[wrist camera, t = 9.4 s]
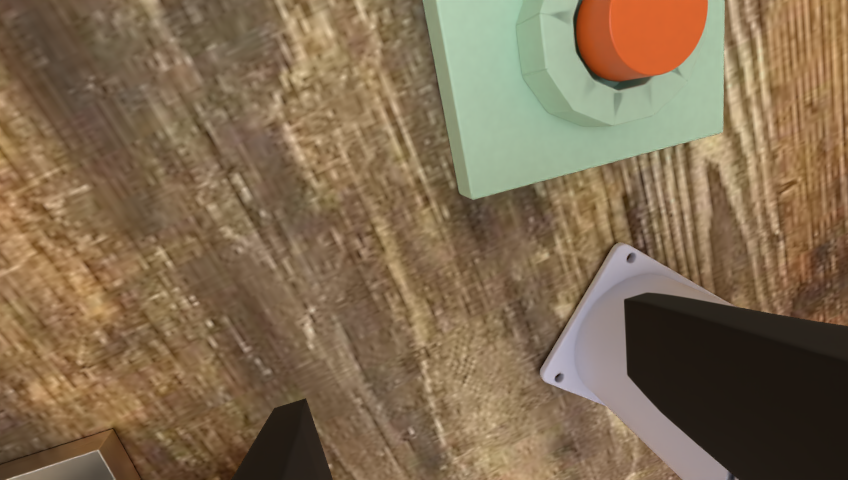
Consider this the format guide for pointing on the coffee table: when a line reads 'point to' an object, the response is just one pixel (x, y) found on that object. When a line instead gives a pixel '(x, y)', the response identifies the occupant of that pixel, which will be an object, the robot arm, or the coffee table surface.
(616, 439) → the coffee table surface
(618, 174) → the coffee table surface
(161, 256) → the coffee table surface
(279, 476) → the robot arm
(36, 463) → the bracket
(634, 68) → the button
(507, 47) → the block
